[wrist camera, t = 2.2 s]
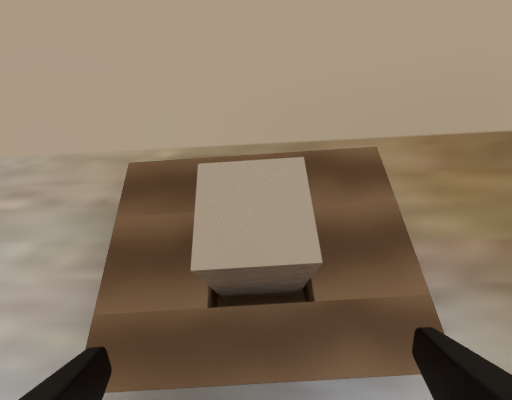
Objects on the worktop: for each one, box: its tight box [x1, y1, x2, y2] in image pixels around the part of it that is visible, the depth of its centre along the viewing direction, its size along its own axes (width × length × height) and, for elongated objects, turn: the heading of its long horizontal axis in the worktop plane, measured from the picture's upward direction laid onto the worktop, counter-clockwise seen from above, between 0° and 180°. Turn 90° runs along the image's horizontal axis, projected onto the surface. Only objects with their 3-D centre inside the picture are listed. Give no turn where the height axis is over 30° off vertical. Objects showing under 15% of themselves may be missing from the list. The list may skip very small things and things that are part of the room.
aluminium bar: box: [191, 157, 323, 301], centre depth 15 cm, size 5×5×10 cm
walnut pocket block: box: [85, 147, 445, 393], centre depth 19 cm, size 15×20×6 cm
